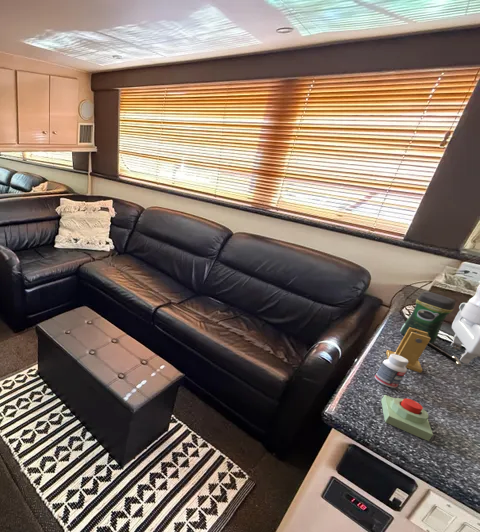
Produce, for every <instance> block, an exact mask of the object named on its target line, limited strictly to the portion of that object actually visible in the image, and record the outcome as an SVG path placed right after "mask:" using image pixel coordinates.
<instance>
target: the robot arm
mask: <svg viewBox="0 0 480 532" xmlns="http://www.w3.org/2000/svg"><path fill="white" fill-rule="evenodd" d="M458 309H459V310H458V312H457V314H456V315H455V317H454V319H453V322H452V323H451V330H452V331H453V332H454V335H453V338H452V342H451V343H450V347H451V348H452V349H454V350H457V351H459V350H460V349H461V348H462V347H464V348H465V350H464V353H463V354H460V356H459V357H458V360H459V362H460V363H463V364H466V365H468V364H469V363H470V362H472V360H474V359H475V358H477V357H479V358H480V283H479V284H478V286H477V288H476V291H475V294H474V295H473V296H472V297H471V298H469V300H467V302H462V303H460V305H459V307H458Z"/></svg>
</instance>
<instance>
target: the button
mask: <svg viewBox="0 0 480 532" xmlns="http://www.w3.org/2000/svg"><path fill="white" fill-rule="evenodd" d="M402 399H403V401H402V402H401V404H400V405H401V406H402V407H403V408H404V409H406V410H408V411H409V412H412V413H414V414H420V412H421V411H422V409H424V407H423V406H422V405H421V404H420V403H419V402H417V401H415V400H414V399H412V398H411V399H410V398H406V397H405V398H402Z"/></svg>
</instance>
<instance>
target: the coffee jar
mask: <svg viewBox="0 0 480 532" xmlns="http://www.w3.org/2000/svg"><path fill="white" fill-rule="evenodd" d="M456 302H457V301H456V299H454V298H451V297H447V296H444V295H441V294H439V293H434V292H431V291H428V290H427V291H422V292H421V293H420V294H419V296H418V297H417V298H416V300H415V305H414V308H413V310H412V312H411V313H410V315H409V317H407V319H406V320H405V322H404V323H403V324H402V326H401V328H400V330H399V332H400V333H401V334H402V335H403V336H405V334H406V332H407V330H408V329H409V327H411V328H414V329H418V330H421V331H424V332H428V335H427V337H430V338H431V339H430V341H429V343H431V344H434V343H435V341H436V340H437V338H438V336H439V333H440V330H441V328H442V326H443V324H444V322H445V319H446V317H447V316H448V315H449V314H451V313H452V312H453V311H454V309H455V306H456Z"/></svg>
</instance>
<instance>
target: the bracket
mask: <svg viewBox="0 0 480 532" xmlns="http://www.w3.org/2000/svg"><path fill="white" fill-rule="evenodd" d="M414 331H416V332H418V333H420V334H417V333H414ZM427 335H428V332H424V331H421V330H418V329H414V328H411V327H409V329H408V330H407V332H406V334H405V335H403V338H402V339H401V341H400V343H399V345H398V346H397V348H396V350H395V351H392V350H389V349H387V350H386V351H385V354H386V358H387V359H388V358H389V356H390V354H396V355H400V356H402V357H404V358H406V359H407V360H408V364H407V365H406V366H405V367H406V369H407V370H411V371H413V372H416V373H420V374H421V373H422V372H423V368H422V365H421V363H420V360H419V359H420V358H421V356H422V355H423V353H424V351H425V350H426V347H428V346H427V344H428V343H429V341H430V339H431V338H430V337H427Z"/></svg>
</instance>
